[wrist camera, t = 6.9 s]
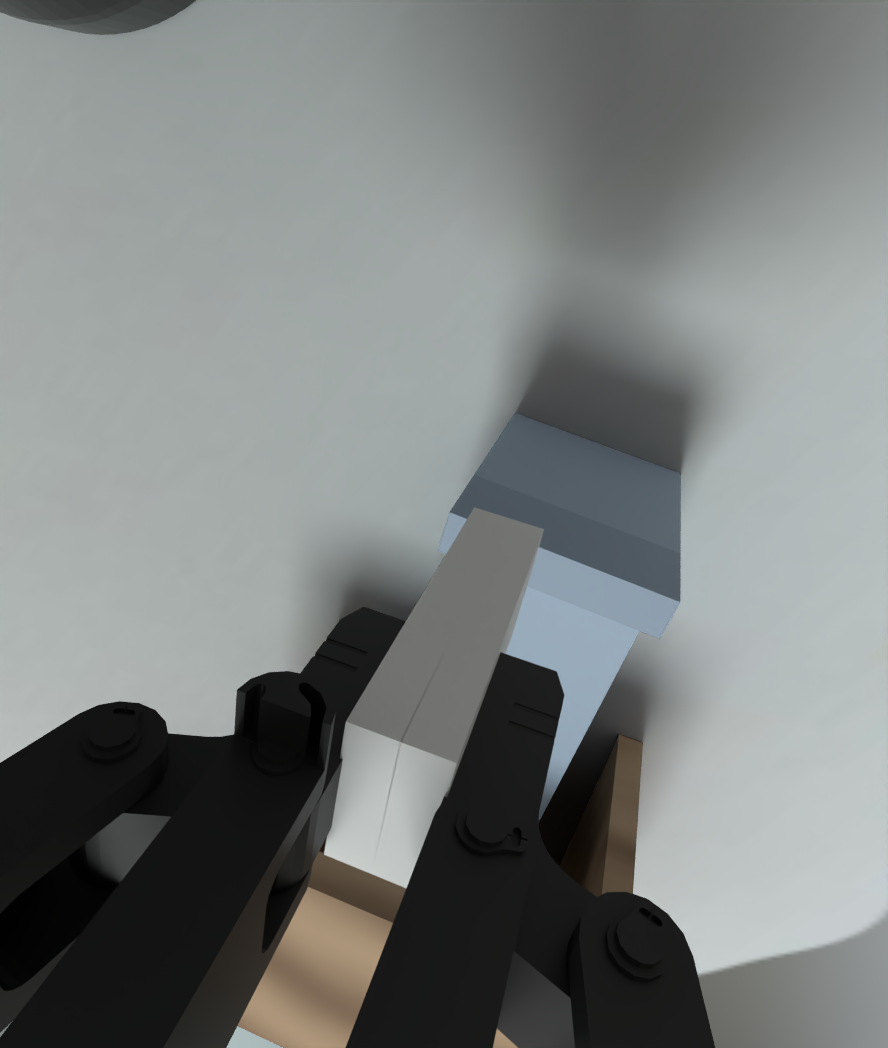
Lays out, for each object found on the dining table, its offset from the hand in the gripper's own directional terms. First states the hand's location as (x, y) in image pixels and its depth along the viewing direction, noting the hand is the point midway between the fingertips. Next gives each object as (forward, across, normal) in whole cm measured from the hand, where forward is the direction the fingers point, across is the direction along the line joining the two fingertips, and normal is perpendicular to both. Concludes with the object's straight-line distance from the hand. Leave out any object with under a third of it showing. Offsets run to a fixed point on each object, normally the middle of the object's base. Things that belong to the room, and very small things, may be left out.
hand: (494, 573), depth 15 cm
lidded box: (+11, +1, -8) cm, 14 cm away
